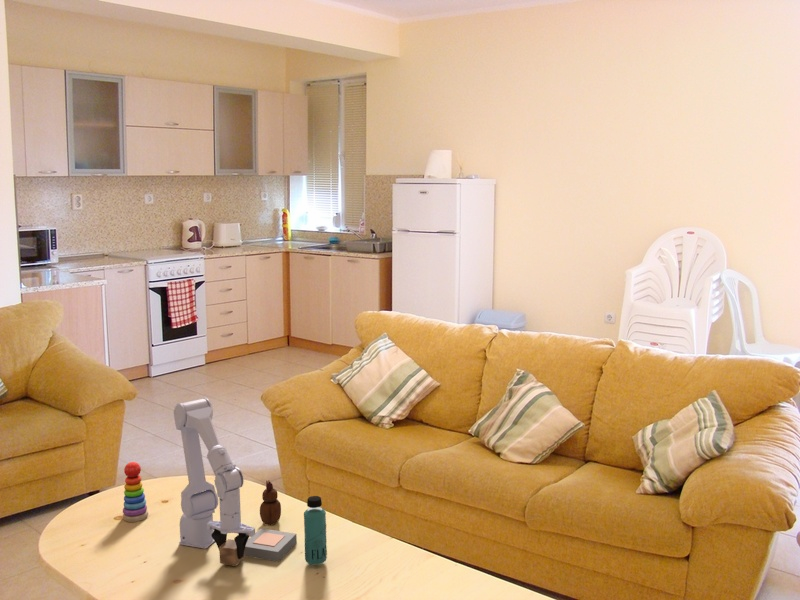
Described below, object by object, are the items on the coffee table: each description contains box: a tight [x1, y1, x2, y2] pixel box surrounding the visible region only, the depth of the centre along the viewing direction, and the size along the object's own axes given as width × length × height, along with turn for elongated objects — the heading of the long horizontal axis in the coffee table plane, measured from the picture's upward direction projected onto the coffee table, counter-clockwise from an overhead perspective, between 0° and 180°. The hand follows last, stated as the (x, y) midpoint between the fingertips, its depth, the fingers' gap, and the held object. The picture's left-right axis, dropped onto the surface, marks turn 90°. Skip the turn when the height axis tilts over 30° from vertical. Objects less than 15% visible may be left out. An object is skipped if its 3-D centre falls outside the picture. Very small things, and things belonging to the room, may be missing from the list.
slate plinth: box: [244, 528, 298, 563], centre depth 227 cm, size 12×12×3 cm
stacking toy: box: [122, 461, 149, 523], centre depth 248 cm, size 8×8×19 cm
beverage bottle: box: [303, 495, 328, 566], centre depth 217 cm, size 6×7×20 cm
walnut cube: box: [218, 538, 245, 567], centre depth 219 cm, size 5×5×5 cm
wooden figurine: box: [259, 480, 282, 526], centre depth 244 cm, size 7×6×15 cm
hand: (232, 555), depth 219 cm, fingers closed on walnut cube, 5 cm apart
